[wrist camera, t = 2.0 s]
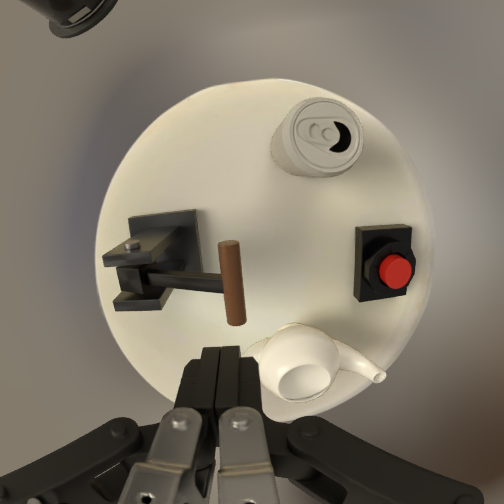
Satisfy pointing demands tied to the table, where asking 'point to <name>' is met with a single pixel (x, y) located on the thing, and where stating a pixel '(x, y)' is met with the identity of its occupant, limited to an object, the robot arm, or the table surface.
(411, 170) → the table surface
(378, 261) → the control block
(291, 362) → the teapot
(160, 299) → the bracket
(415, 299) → the table surface
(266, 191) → the table surface
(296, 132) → the beverage can
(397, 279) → the button
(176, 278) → the lever
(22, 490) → the robot arm
